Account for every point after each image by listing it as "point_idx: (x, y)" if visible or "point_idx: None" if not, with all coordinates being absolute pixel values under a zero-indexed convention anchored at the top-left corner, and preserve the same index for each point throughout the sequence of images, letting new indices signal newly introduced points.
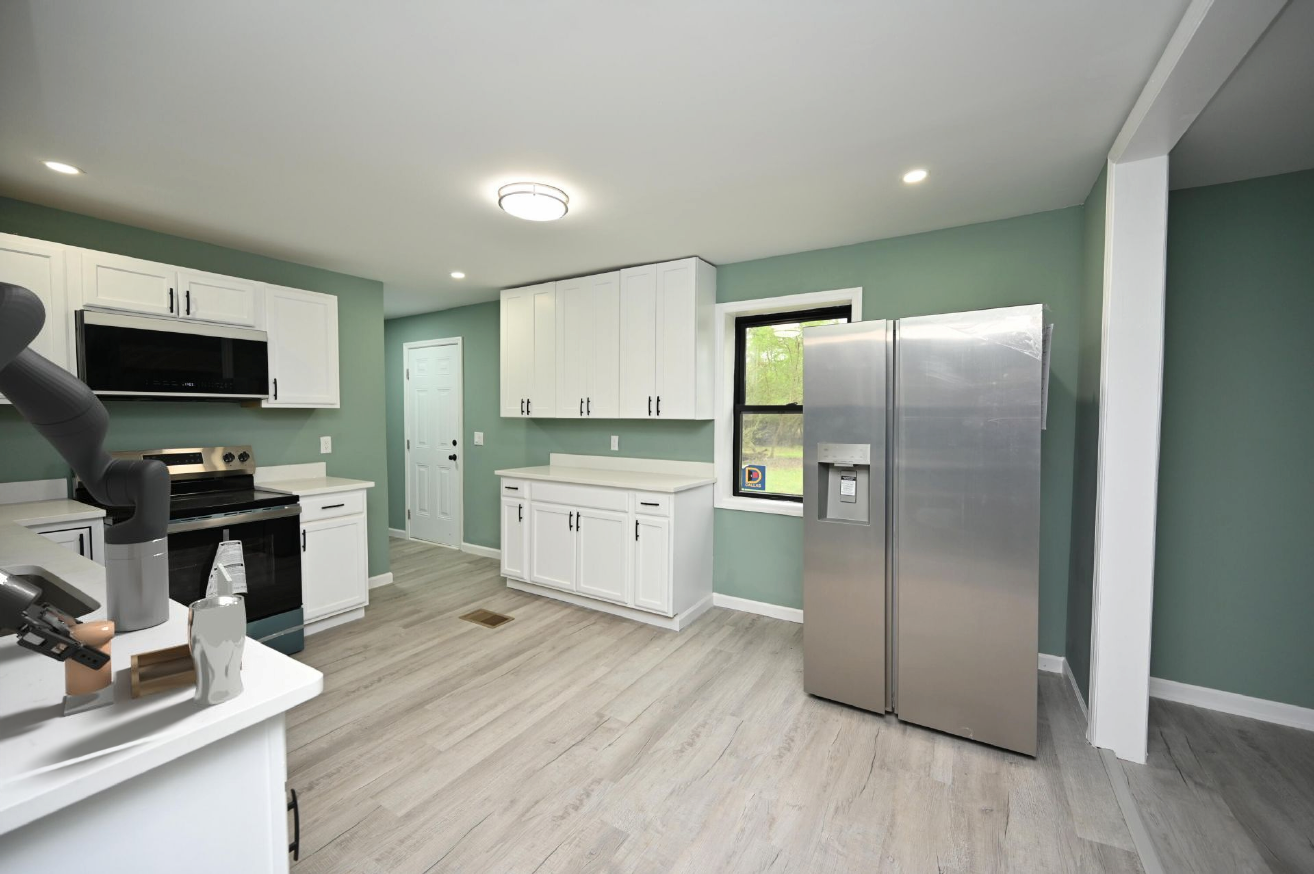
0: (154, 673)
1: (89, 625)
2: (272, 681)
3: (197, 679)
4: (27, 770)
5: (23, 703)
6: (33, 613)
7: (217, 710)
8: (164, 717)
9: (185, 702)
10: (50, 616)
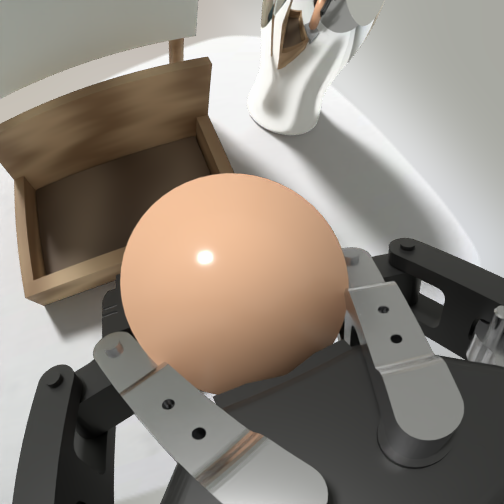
0: (109, 234)
1: (192, 285)
2: (240, 61)
3: (321, 93)
4: (442, 296)
5: (160, 468)
6: (448, 493)
7: (324, 108)
8: (330, 165)
9: (279, 148)
10: (450, 376)
